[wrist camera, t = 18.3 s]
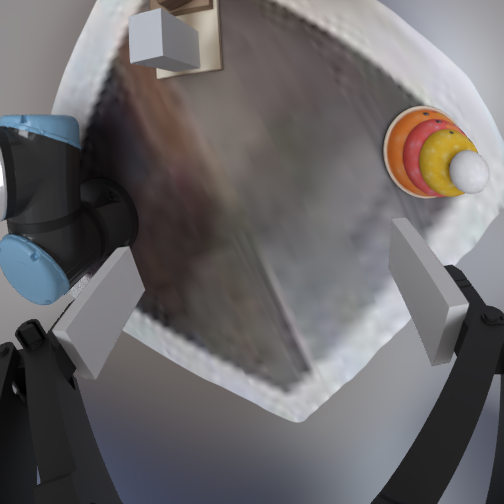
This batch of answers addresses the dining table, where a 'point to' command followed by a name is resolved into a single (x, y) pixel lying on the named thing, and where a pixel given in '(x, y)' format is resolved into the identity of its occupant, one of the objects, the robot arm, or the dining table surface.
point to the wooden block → (171, 3)
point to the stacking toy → (432, 155)
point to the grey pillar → (163, 42)
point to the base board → (208, 26)
